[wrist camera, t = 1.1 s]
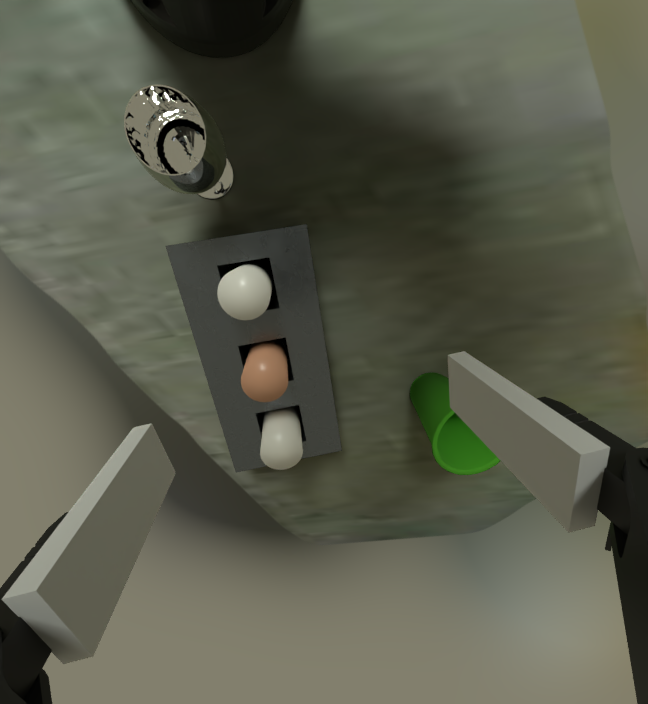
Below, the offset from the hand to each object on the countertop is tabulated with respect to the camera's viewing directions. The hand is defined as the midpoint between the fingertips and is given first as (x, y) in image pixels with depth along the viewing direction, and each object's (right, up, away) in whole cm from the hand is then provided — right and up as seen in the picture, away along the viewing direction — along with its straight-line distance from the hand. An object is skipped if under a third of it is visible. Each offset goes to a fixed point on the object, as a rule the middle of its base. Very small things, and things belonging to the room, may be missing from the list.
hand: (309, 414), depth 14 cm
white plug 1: (-6, +9, +17) cm, 20 cm away
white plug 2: (-4, -4, +22) cm, 23 cm away
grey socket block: (-6, +4, +22) cm, 23 cm away
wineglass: (-10, +20, +16) cm, 28 cm away
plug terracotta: (-5, +3, +19) cm, 20 cm away
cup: (+14, -2, +27) cm, 31 cm away
